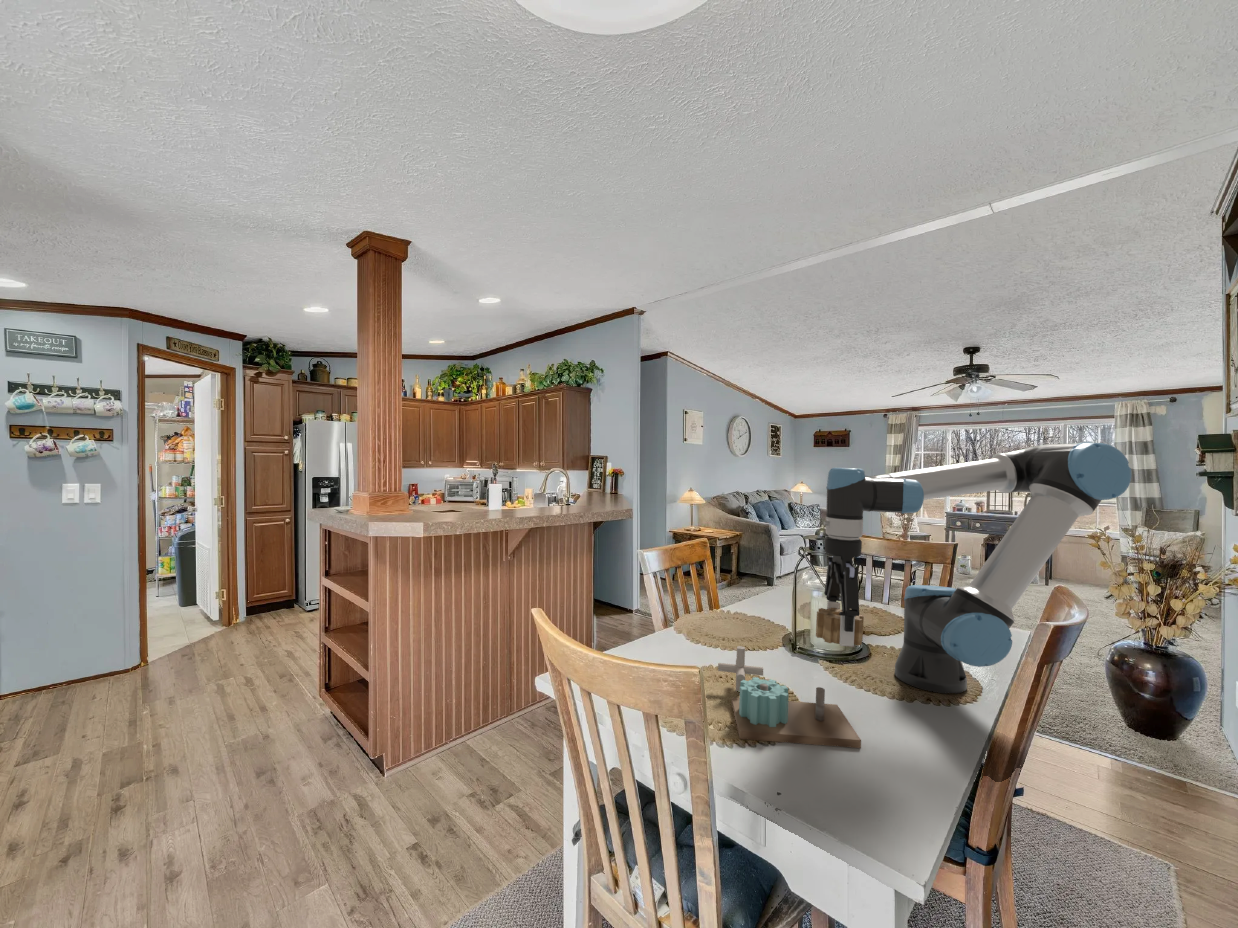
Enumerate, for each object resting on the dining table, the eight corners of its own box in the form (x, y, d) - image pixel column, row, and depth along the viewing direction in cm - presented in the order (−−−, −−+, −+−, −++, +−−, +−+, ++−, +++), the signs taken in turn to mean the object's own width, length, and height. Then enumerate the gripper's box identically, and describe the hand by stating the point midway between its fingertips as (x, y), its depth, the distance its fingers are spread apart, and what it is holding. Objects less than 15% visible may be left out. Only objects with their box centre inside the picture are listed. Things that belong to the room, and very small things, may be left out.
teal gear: (776, 702, 109) (777, 676, 109) (796, 726, 100) (797, 697, 100) (732, 703, 108) (733, 677, 108) (748, 727, 99) (749, 699, 99)
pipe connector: (764, 703, 112) (765, 657, 112) (717, 698, 114) (718, 653, 114) (760, 684, 122) (761, 642, 122) (717, 679, 124) (718, 638, 124)
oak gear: (854, 633, 119) (855, 609, 119) (869, 648, 110) (870, 622, 110) (811, 629, 120) (812, 606, 120) (822, 644, 111) (823, 618, 111)
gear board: (836, 711, 109) (837, 676, 109) (860, 748, 96) (862, 707, 95) (731, 703, 112) (732, 669, 112) (739, 738, 98) (740, 699, 98)
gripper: (813, 529, 126) (809, 620, 127) (840, 544, 104) (836, 654, 104) (845, 531, 125) (841, 622, 126) (880, 546, 103) (875, 657, 104)
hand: (839, 637), depth 115 cm, fingers closed on oak gear, 10 cm apart
